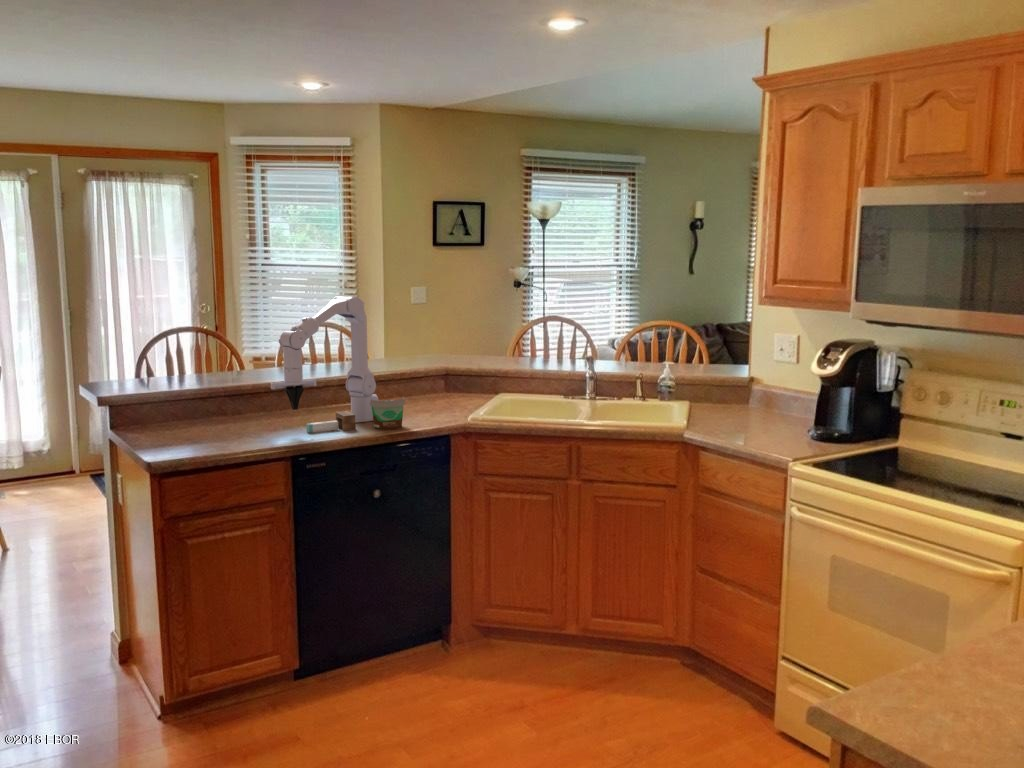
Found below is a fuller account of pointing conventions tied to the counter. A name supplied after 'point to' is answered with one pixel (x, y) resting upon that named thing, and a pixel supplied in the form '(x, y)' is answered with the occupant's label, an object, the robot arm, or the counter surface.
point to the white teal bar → (322, 426)
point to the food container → (387, 414)
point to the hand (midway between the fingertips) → (294, 409)
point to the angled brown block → (346, 420)
